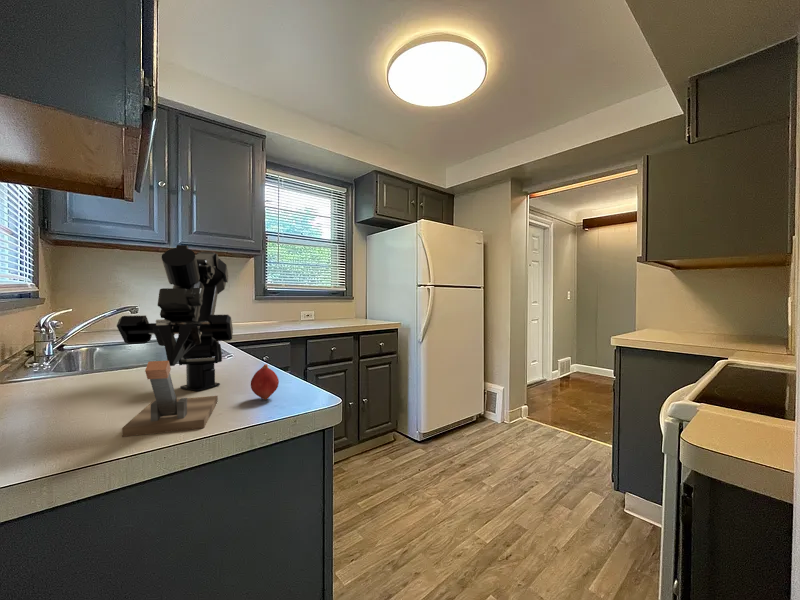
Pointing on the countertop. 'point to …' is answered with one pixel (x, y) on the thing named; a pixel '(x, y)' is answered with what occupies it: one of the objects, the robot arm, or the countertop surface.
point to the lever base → (172, 417)
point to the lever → (162, 386)
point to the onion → (264, 382)
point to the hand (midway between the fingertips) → (171, 364)
